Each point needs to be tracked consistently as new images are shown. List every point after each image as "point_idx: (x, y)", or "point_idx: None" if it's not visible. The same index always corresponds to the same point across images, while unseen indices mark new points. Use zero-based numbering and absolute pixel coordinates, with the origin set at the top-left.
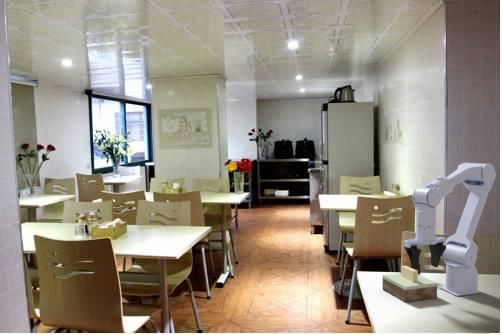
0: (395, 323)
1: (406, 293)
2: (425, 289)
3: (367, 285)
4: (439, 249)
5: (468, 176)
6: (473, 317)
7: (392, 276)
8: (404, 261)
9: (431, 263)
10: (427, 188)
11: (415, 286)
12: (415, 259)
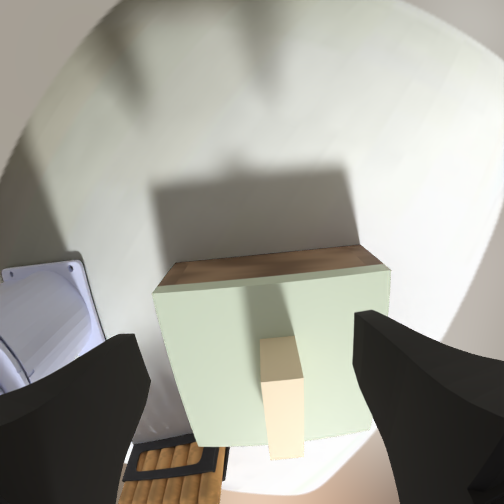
0: (482, 87)
1: (370, 257)
2: (241, 275)
3: None
4: (10, 443)
5: None
6: (156, 40)
7: (340, 415)
8: (211, 498)
9: (145, 393)
10: None
11: (319, 277)
12: (452, 352)
